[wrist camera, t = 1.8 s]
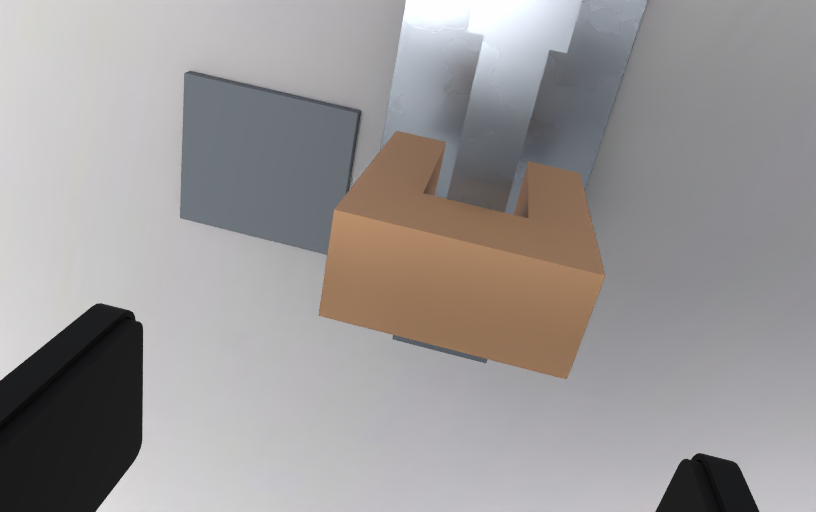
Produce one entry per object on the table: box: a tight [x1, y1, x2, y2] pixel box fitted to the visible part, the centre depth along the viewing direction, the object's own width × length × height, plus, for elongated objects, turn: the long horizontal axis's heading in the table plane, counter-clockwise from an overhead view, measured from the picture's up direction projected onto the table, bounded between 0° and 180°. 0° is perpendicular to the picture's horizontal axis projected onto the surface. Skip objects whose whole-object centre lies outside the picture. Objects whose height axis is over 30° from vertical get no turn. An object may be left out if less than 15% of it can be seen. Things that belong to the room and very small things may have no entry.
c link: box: [319, 130, 605, 379], centre depth 19 cm, size 6×3×8 cm, turn 79°
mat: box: [180, 71, 361, 255], centre depth 34 cm, size 9×8×1 cm
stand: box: [380, 0, 648, 363], centre depth 23 cm, size 10×12×15 cm
